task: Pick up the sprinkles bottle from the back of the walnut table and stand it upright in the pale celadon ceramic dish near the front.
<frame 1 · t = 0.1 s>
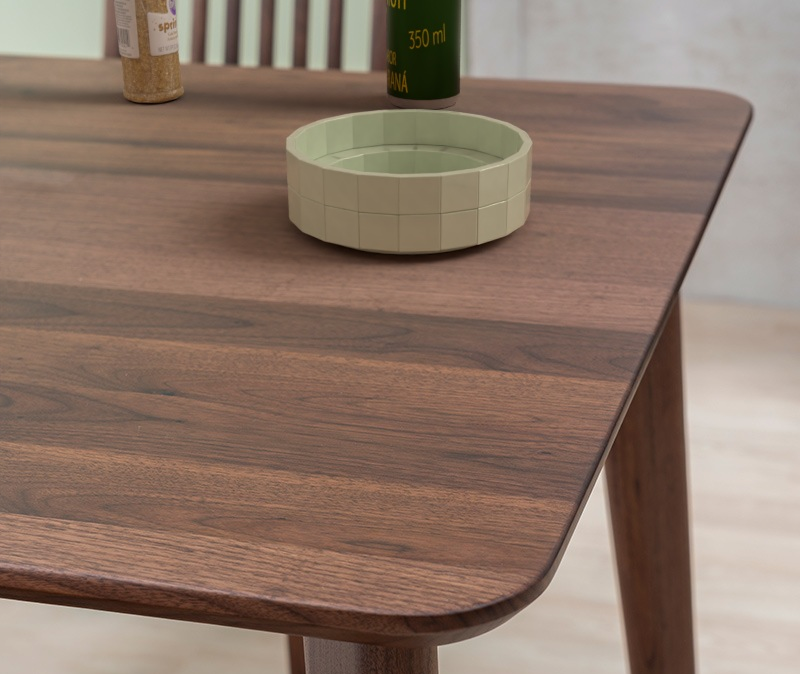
sprinkles bottle: (153, 99, 94), on the table
green drink can: (423, 104, 92), on the table
dish: (408, 220, 69), on the table
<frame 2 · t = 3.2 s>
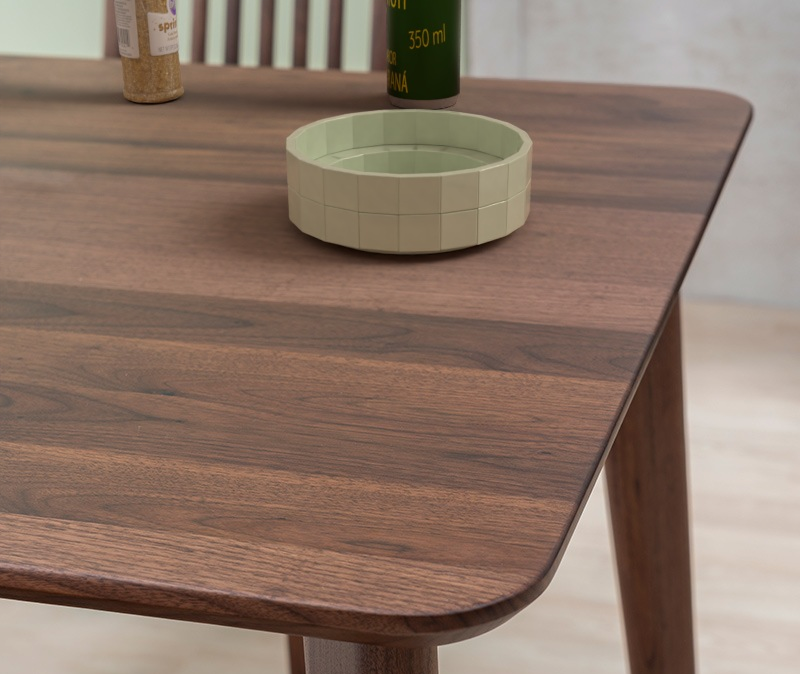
sprinkles bottle: (153, 99, 94), on the table, touching gripper
everything else where it was.
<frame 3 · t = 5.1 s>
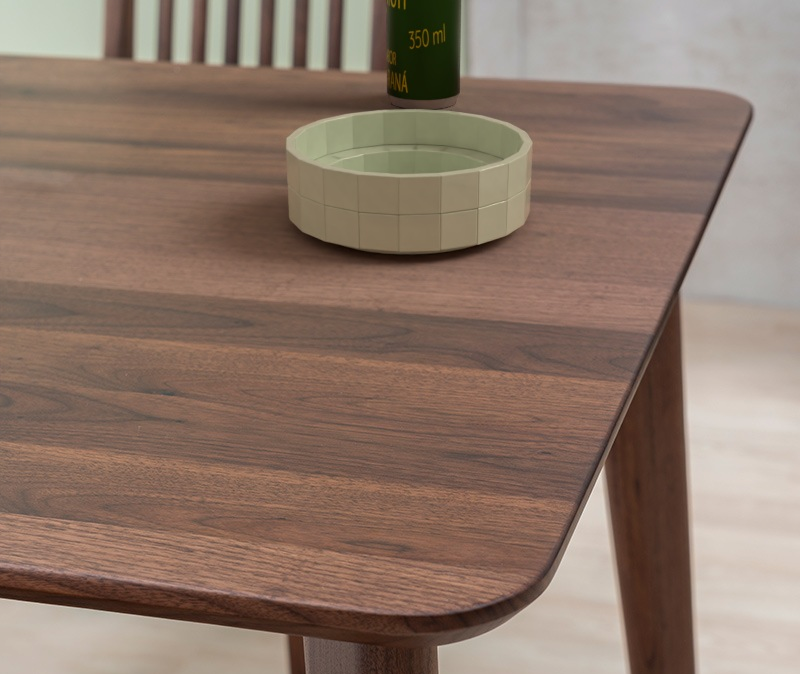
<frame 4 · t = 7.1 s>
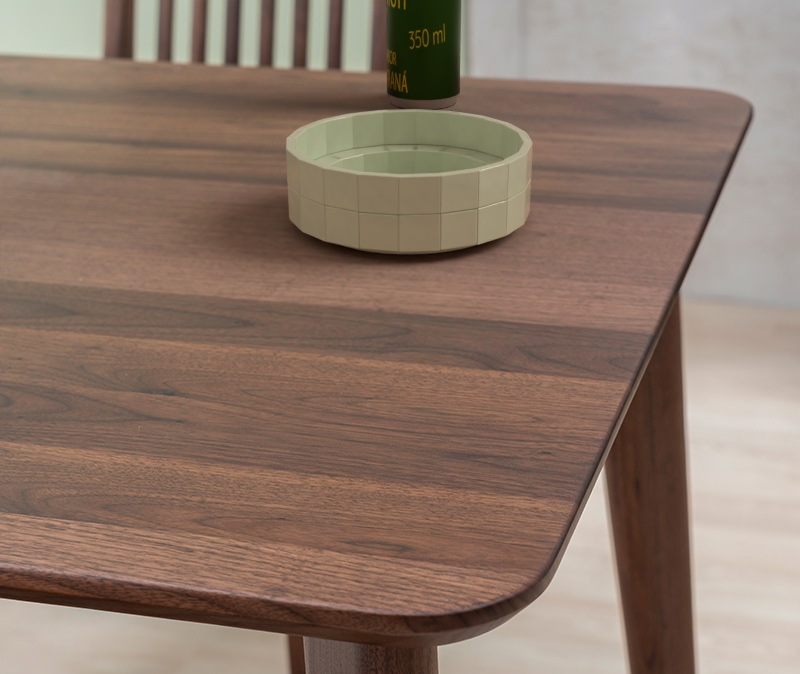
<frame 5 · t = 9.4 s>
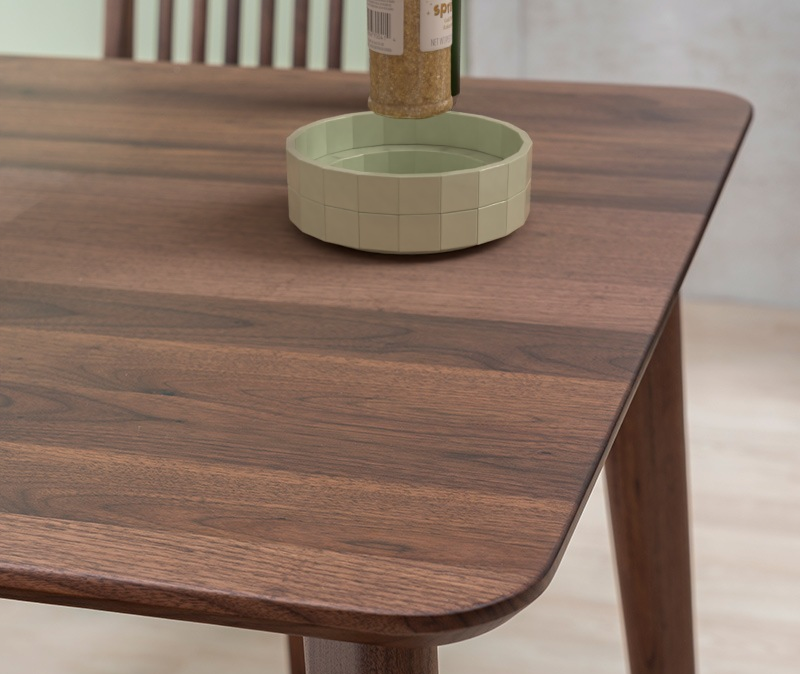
sprinkles bottle: (409, 114, 66), point 6 cm above the table, touching gripper
everything else where it was.
when the fingers open (9 cm above the table, at t = 11.1 s): sprinkles bottle stays where it is, resting on dish.
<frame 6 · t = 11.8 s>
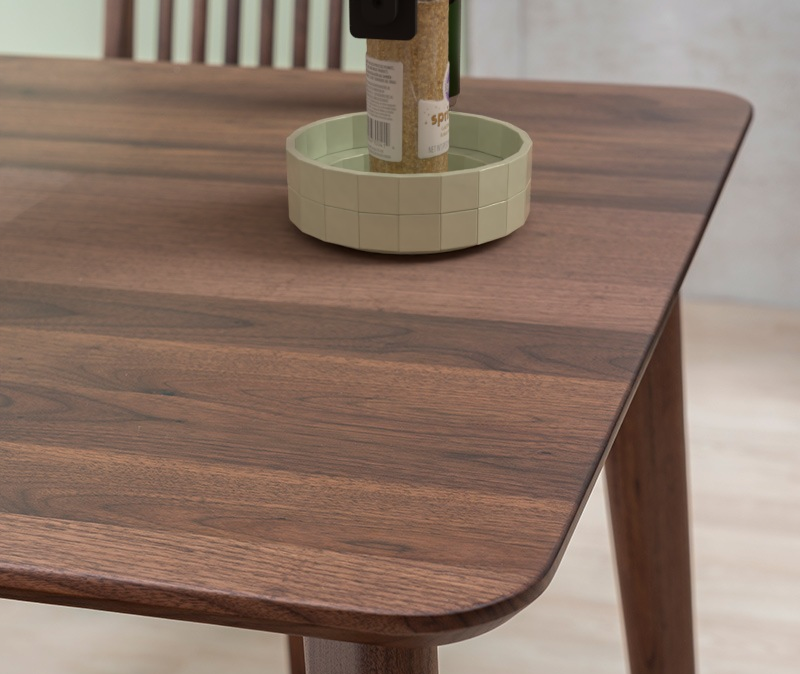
hand: (407, 19, 64), 11 cm above the table, tool pointing down, fingers open, 9 cm apart
sprinkles bottle: (408, 213, 69), resting on dish
everything else where it was.
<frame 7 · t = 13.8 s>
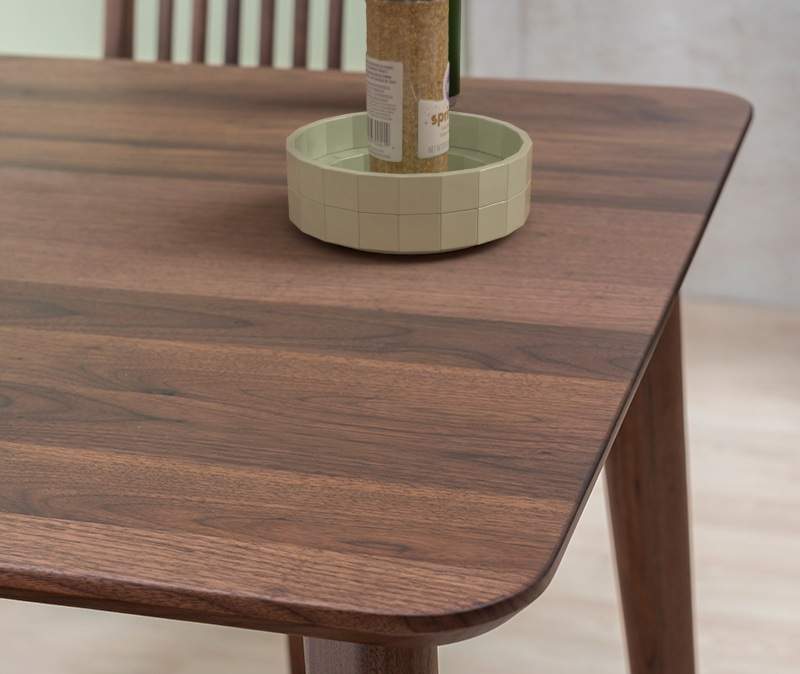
nothing on the table moved.
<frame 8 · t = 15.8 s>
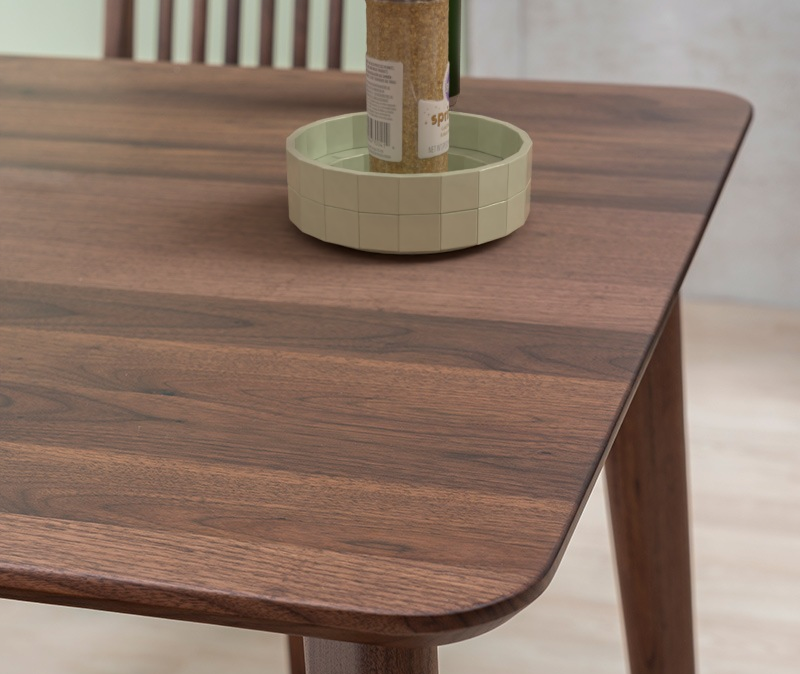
nothing on the table moved.
at the end: sprinkles bottle inside the target area in the dish (0.0 cm from its centre), point 0.4 cm above the dish's base; sprinkles bottle tilted 0°; the gripper is holding nothing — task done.
